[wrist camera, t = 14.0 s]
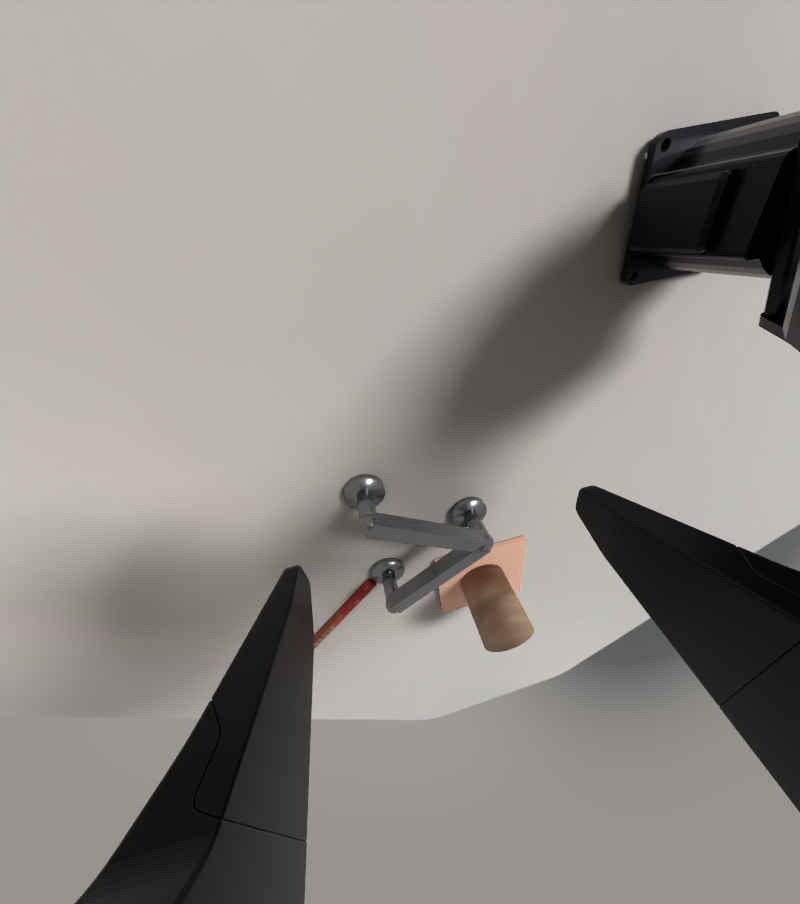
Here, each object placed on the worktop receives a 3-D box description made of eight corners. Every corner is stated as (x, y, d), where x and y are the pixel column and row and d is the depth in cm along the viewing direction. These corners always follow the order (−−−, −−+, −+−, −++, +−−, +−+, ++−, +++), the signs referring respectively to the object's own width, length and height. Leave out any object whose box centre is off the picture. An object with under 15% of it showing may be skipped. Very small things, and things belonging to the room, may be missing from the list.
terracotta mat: (523, 535, 31) (525, 539, 30) (517, 587, 36) (519, 591, 36) (434, 559, 30) (435, 564, 30) (441, 608, 35) (442, 612, 35)
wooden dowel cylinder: (503, 559, 32) (536, 618, 27) (502, 585, 34) (531, 642, 29) (459, 571, 31) (484, 633, 26) (461, 596, 34) (484, 656, 29)
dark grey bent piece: (484, 444, 24) (511, 479, 20) (484, 552, 31) (503, 591, 28) (339, 480, 23) (341, 522, 19) (374, 582, 30) (381, 625, 27)
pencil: (367, 574, 30) (369, 583, 29) (377, 577, 31) (378, 586, 30) (277, 671, 37) (276, 681, 36) (285, 672, 37) (285, 681, 37)
